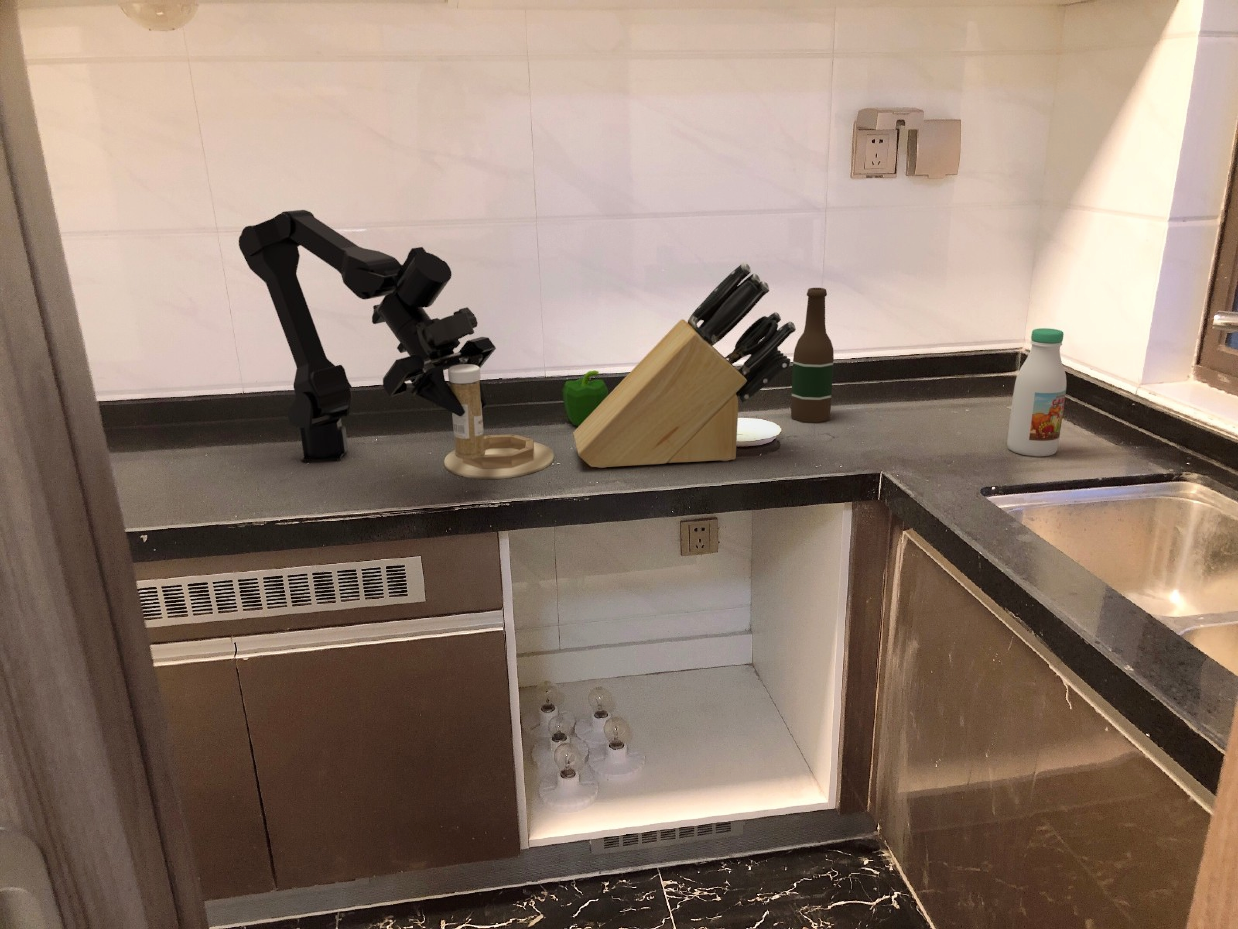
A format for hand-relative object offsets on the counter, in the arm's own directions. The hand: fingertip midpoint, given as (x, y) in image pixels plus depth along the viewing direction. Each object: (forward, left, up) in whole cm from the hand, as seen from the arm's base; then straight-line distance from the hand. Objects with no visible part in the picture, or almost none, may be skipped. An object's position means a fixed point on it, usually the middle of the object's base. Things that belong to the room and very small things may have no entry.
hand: (473, 410), depth 133 cm
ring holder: (+2, +16, -13) cm, 21 cm away
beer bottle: (+59, +33, -13) cm, 69 cm away
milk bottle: (+90, +10, -13) cm, 91 cm away
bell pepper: (+17, +35, -13) cm, 41 cm away
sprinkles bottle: (-1, +1, -7) cm, 7 cm away
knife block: (+32, +15, -13) cm, 38 cm away
